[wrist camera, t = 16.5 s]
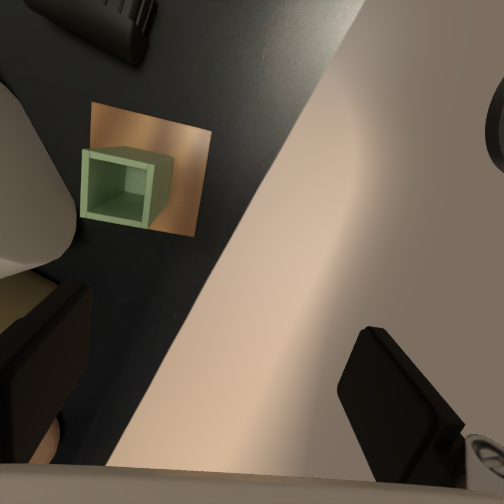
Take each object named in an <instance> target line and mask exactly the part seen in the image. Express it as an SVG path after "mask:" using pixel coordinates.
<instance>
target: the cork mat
mask: <svg viewBox="0 0 504 504" xmlns="http://www.w3.org/2000/svg"><path fill="white" fill-rule="evenodd" d="M211 136H212V131H209V130H205V129H201V128H197V127H193V126H189V125H185V124H181V123H176V122H172V121H168V120H164V119H160V118H156V117H152V116H148V115H144V114H140V113H136V112H132V111H128V110H123V109H119V108H115V107H111V106H107V105H103V104H99V103H95V102H92V109H91V132H90V149H91V148H104V147H117V146H128V147H132V148H137V149H141V150H146V151H150V152H154V153H159V154H163V155H168V156H172V157H174V164H173V171H172V179H171V186H170V194H169V201H168V204H167V205H166V207H165V208H164V209H163V210H162V211H161V213H160V214H159V215H158V216H157V218H156V219H155V220H154V221H153V223H152V224H151V225H150V226H149V228H148V229H152V230H157V231H163V232H168V233H174V234H179V235H185V236H190V237H194V236H195V230H196V224H197V218H198V212H199V206H200V200H201V195H202V189H203V183H204V177H205V171H206V165H207V159H208V153H209V147H210V142H211Z"/></svg>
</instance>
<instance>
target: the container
mask: <svg viewBox="0 0 504 504" xmlns="http://www.w3.org/2000/svg"><path fill="white" fill-rule="evenodd" d="M56 287H58V285H57V284H56V283H54V282H52V281H50V280H48V279H46V278H44V277H42V276H40V275H38V274H36V273H34V272H32V271H31V270H26V271H23V272H20V273H17V274H14V275H11V276H8V277H5V278H2V279H0V334H1V333H2V332H3V331H4V330H5V329H7V328H8V327H9V326H10V325H11V324H12V323H13V322H15V321H16V320H17V319H19V318H22V317H24V316H25V315H26V314H27V313H29V312H30V311H31V310H32V309H33V308H34V307H35V306H36V305H37V304H39V303H40V302H41V301H42V300H43V299H44V298H45V297H46V296H48V295H49V294H50V293H51V292H52V291H53V290H54V289H55V288H56Z"/></svg>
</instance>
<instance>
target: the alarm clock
mask: <svg viewBox="0 0 504 504" xmlns="http://www.w3.org/2000/svg"><path fill="white" fill-rule="evenodd" d="M76 218H77V212H76V205H75V202H74V200H73V198H72V197H71V195H70V193H69V191H68V189H67V187H66V186H65V184H64V182H63V180H62V178H61V176H60V175H59V173H58V171H57V169H56V167H55V165H54V164H53V162H52V160H51V158H50V156H49V154H48V153H47V151H46V149H45V147H44V145H43V144H42V142H41V140H40V138H39V136H38V134H37V133H36V131H35V129H34V127H33V125H32V123H31V122H30V120H29V118H28V116H27V114H26V112H25V111H24V109H23V107H22V105H21V103H20V102H19V100H18V99H17V98H16V97H15V96H14V95H13V94H12V93H11V92H10V90H9V89H8V88H7V87H6V86H4V85H3V84H2V83H1V82H0V279H2V278H5V277H8V276H11V275H14V274H17V273H20V272H23V271H26V270H29V269H32V268H35V267H38V266H41V265H44V264H46V263H48V262H51V261H53V260H55V259H57V258H60V256H61V255H62V254H63V253H64V252H65V251H66V250H67V249H68V247H69V246H70V245H71V242H72V240H73V237H74V234H75V231H76Z"/></svg>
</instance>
